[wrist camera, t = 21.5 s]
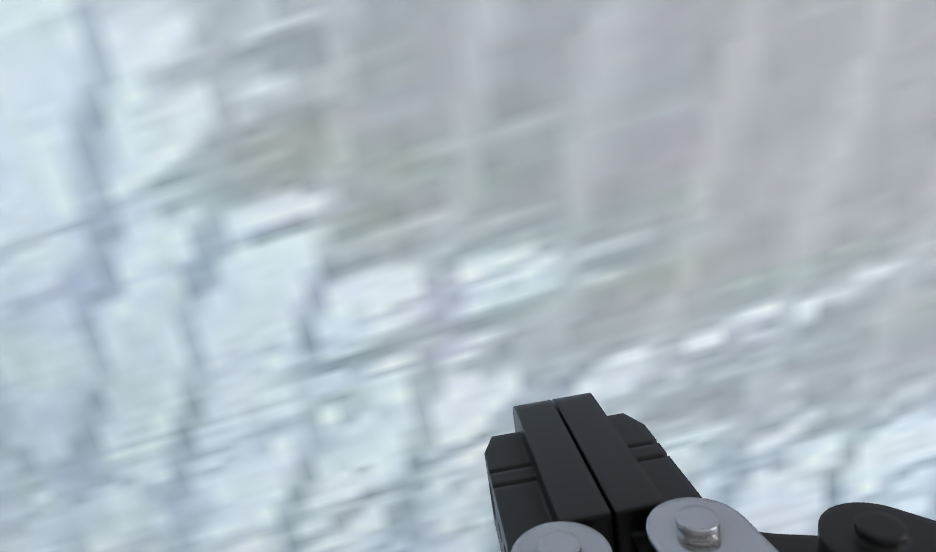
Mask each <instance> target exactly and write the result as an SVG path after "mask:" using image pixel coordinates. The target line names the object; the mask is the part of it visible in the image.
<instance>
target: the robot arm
mask: <svg viewBox="0 0 936 552" xmlns="http://www.w3.org/2000/svg"><path fill="white" fill-rule="evenodd" d="M513 416H514V424H515V432H516V433H510V434H505V435H499V436H493V437H492V438H491V440H490V442H489V445H488V447H487V449H486V451H485V460H486V467H487V474H488V480H489V487H490V494H491V501H492V508H493V515H494V521H495V526H496V531H497V535H498V539H499V543H500V548H501V552H936V521H934V520H931V519H928V518H924V517H921V516H918V515H915V514H912V513H908V512H905V511H902V510H899V509H895V508H892V507H888V506H884V505H879V504H873V503H861V502H853V503H844V504H840V505H836V506H834V507H831V508H829V509H828V510H826V511H825V512H824V513H823V514H822V515H821V517H820V519H819V522H818V536H812V535H789V534H772V533H763V532H759V531H758V530H757V529H756V528H755V527H754V526H753V525H752V524H751V523H750V522H749V521H748V520H747V519H746V518H745V517H744V516H742V515H741V514H740V513H739V512H738V511H736V510H734V509H733V508H731V507H729V506H727V505H725V504H723V503H720V502H717V501H714V500H710V499H705V498H702V497H701V496H700V494H699V493H698V492H697V491H696V489H695V488H694V487H693V486H692V484H691V483H690V482H689V480H688V479H687V478H686V477H685V475H684V474H683V473H682V472H681V470H680V469H679V468H678V467H677V465H676V464H675V463H674V462H673V460H672V459H671V458H670V457H669V456H667V453H666V451H665V450H664V449H663V448H662V446H661V445H660V444H659V443H657V441H656V439H655V438H654V436H653V435H652V434H651V433H650V431H649V430H648V429H647V428H646V426H645V425H644V424H642V423H640V422H638V421H637V420H635V419H633V418H631V417H629V416H627V415H625V414H623V413H622V414H616V415H611V416H607V415H606V414H605V413H604V411H603V410H602V408H601V407H600V405H599V404H598V402H597V401H596V400H595V398H594V397H593V395H592V394H591V393H586V394H581V395H575V396H569V397H564V398H558V399H553V400H552V401H551V400H547V401H541V402H536V403H530V404H524V405H519V406H514V407H513Z"/></svg>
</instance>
